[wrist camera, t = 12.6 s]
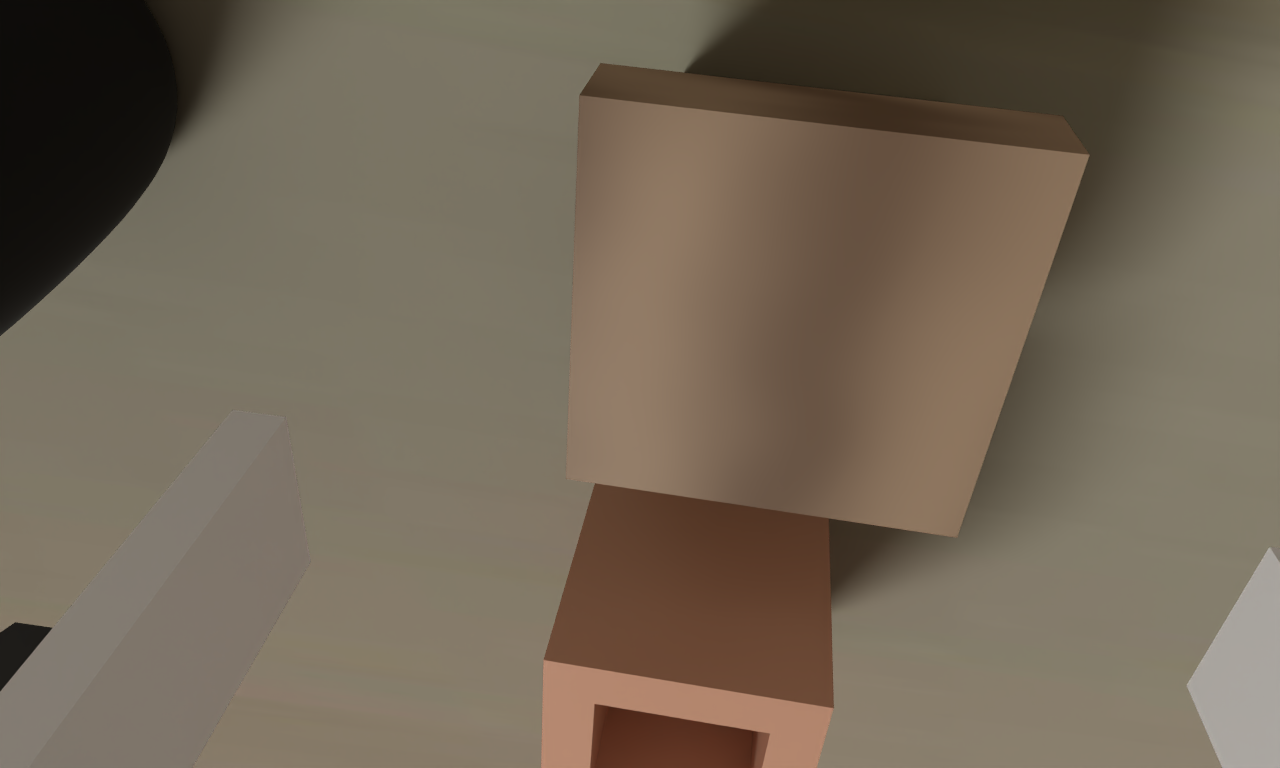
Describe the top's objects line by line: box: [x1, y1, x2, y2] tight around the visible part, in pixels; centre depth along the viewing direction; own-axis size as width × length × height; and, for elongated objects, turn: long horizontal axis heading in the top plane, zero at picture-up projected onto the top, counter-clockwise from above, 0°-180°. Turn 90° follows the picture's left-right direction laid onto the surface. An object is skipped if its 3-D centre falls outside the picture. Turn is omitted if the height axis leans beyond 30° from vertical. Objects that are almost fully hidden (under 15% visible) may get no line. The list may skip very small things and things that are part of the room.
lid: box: [566, 63, 1090, 538], centre depth 19 cm, size 8×8×2 cm
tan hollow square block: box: [541, 483, 834, 768], centre depth 26 cm, size 6×6×8 cm
